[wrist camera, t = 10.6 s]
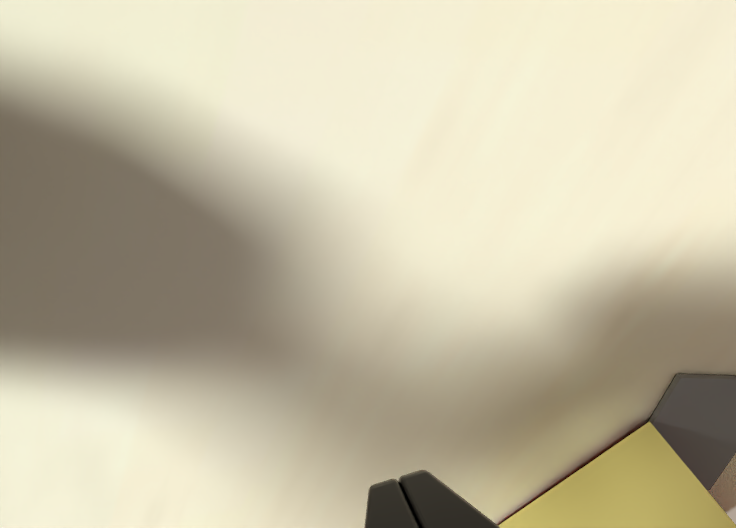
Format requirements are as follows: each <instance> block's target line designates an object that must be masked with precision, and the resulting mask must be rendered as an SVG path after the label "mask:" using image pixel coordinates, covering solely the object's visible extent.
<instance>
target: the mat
mask: <svg viewBox="0 0 736 528" xmlns="http://www.w3.org/2000/svg"><path fill="white" fill-rule="evenodd" d="M649 421H650V422H651V424H652V425H653V426H654V427H655V428H656V430H657V431H658V432H659V433H660V434H661V436H662V437H663V438H664V439H665V441H666V442H667V443H668V444H669V445H670V447H671V448H672V449H673V450H674V451H675V453H676V454H677V455H678V456H679V457H680V459H681V460H682V461H683V462H684V463H685V465H686V466H687V467H688V468H689V469H690V471H691V472H692V473H693V474H694V475H695V477H696V478H697V479H698V480H699V481H700V483H701V484H702V485H703V486H704V487H705V489H706V490H710V489H711V487H712V486H713V485H714V483H715V482H716V480H717V479H718V477H719V476H720V474H721V473H722V472H723V470H724V469H725V467H726V466H727V464H728V463H729V462H730V460H731V459H732V457H733V456H734V454H735V453H736V376H727V375H698V374H676V376H675V377H674V379H673V381H672V383H671V384H670V386H669V388H668V389H667V391H666V393H665V394H664V396H663V398H662V399H661V401H660V403H659V404H658V406H657V408H656V409H655V411H654V413H653V414H652V416H651V418H650V420H649ZM649 421H648V422H649Z"/></svg>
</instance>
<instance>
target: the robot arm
mask: <svg viewBox="0 0 736 528" xmlns="http://www.w3.org/2000/svg"><path fill="white" fill-rule="evenodd" d="M365 528H500V527H499V526H498V525H496V524H495V523H494V522H493V521H491V520H490V519H489V518H487V517H486V516H485V515H483V514H482V513H481V512H480V511H478V510H477V509H476V508H474V507H473V506H472V505H471V504H469V503H468V502H467V501H465V500H464V499H463V498H462V497H460V496H459V495H458V494H456V493H455V492H454V491H453V490H451V489H450V488H449V487H447V486H446V485H445V484H444V483H442V482H441V481H440V480H438V479H437V478H436V477H434V476H433V475H432V474H431V473H429V472H428V471H426V470H419V471H416V472H413V473H410V474H407V475H403V476H401V477H400V478H399V481H397V480H396V479H390V480H387V481H384V482H380V483H377V484H374V485H372V486H371V487H370V488H369V492H368V501H367V510H366V519H365Z"/></svg>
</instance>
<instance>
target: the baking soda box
mask: <svg viewBox="0 0 736 528" xmlns="http://www.w3.org/2000/svg"><path fill="white" fill-rule="evenodd" d="M498 526H499V527H500V528H736V525H735V524H734V522H733V521H732V520H731V519H730V518H729V517H728V515H727V514H726V513H725V512H724V510H723V509H722V508H721V507H720V506H719V504H718V503H717V502H716V501H715V500H714V498H713V497H712V496H711V495H710V494H709V492H708V491H707V490H706V489H705V487H704V486H703V485H702V484H701V483H700V481H699V480H698V479H697V478H696V477H695V475H694V474H693V473H692V472H691V471H690V469H689V468H688V467H687V466H686V465H685V463H684V462H683V461H682V460H681V459H680V457H679V456H678V455H677V454H676V453H675V451H674V450H673V449H672V448H671V447H670V445H669V444H668V443H667V442H666V441H665V439H664V438H663V437H662V436H661V434H660V433H659V432H658V431H657V430H656V428H655V427H654V426H653V425H652V424H651V422H650V421H649V422H648V423H647V424H645V425H644V426H642V427H641V428H639V429H638V430H636V431H635V432H633V433H632V434H631V435H629V436H628V437H626V438H625V439H623V440H622V441H620V442H619V443H617V444H616V445H615V446H613V447H612V448H610V449H609V450H607V451H606V452H604V453H603V454H601V455H600V456H599V457H597V458H596V459H594V460H593V461H591V462H590V463H588V464H587V465H585V466H584V467H583V468H581V469H580V470H578V471H577V472H575V473H574V474H572V475H571V476H569V477H568V478H567V479H565V480H564V481H562V482H561V483H559V484H558V485H556V486H555V487H553V488H552V489H551V490H549V491H548V492H546V493H545V494H543V495H542V496H540V497H539V498H537V499H536V500H535V501H533V502H532V503H530V504H529V505H527V506H526V507H524V508H523V509H522V510H520V511H519V512H517V513H516V514H514V515H513V516H511V517H510V518H508V519H507V520H506V521H504V522H503V523H501V524H500V525H498Z"/></svg>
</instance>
